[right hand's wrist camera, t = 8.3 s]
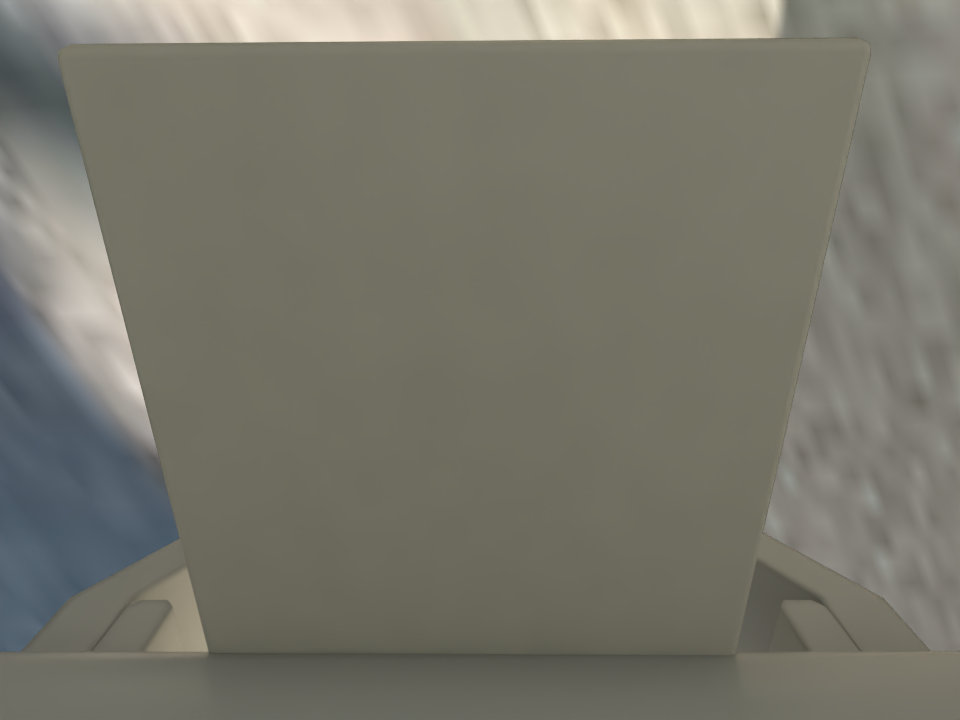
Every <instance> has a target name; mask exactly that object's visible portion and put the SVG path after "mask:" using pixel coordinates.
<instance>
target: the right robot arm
mask: <svg viewBox="0 0 960 720" xmlns="http://www.w3.org/2000/svg"><path fill="white" fill-rule="evenodd" d="M0 720H960V652H931V651H930V650H929V649H928V648H927V646H926V645H925V644H924V643H923V642H922V641H921V640H920V639H919V638H918V636H917V635H916V634H915V633H914V632H913V631H912V630H911V629H910V627H909V626H908V625H907V624H906V623H905V622H904V621H903V620H902V619H901V617H900V616H899V615H898V614H897V613H896V612H895V611H894V610H893V608H892V607H891V606H890V605H889V604H888V603H887V602H886V601H885V600H884V598H882V597H880V596H878V595H876V594H874V593H873V592H871V591H869V590H867V589H865V588H863V587H862V586H860V585H858V584H856V583H854V582H852V581H851V580H849V579H847V578H845V577H843V576H841V575H840V574H838V573H836V572H834V571H832V570H830V569H829V568H827V567H825V566H823V565H821V564H819V563H818V562H816V561H814V560H812V559H810V558H808V557H807V556H805V555H803V554H801V553H799V552H797V551H796V550H794V549H792V548H790V547H788V546H786V545H785V544H783V543H781V542H779V541H777V540H775V539H774V538H772V537H770V536H768V535H766V534H764V533H763V534H762V538H761V543H760V547H759V551H758V556H757V560H756V565H755V569H754V574H753V578H752V582H751V587H750V591H749V596H748V600H747V605H746V609H745V613H744V618H743V622H742V627H741V631H740V636H739V640H738V644H737V649H736V653H735V654H733V655H574V654H306V653H210V652H209V651H208V647H207V643H206V640H205V636H204V632H203V628H202V624H201V620H200V616H199V612H198V608H197V604H196V600H195V596H194V592H193V589H192V585H191V581H190V577H189V573H188V569H187V565H186V561H185V557H184V553H183V549H182V545H181V541H180V539H178V540H176V541H175V542H173V543H171V544H169V545H167V546H165V547H163V548H162V549H160V550H158V551H156V552H154V553H152V554H150V555H149V556H147V557H145V558H143V559H141V560H139V561H137V562H136V563H134V564H132V565H130V566H128V567H126V568H124V569H123V570H121V571H119V572H117V573H115V574H113V575H111V576H110V577H108V578H106V579H104V580H102V581H100V582H98V583H97V584H95V585H93V586H91V587H89V588H87V589H85V590H84V591H82V592H80V593H78V594H76V595H74V596H72V597H71V598H70V599H69V600H68V601H67V602H66V603H65V604H64V605H63V606H62V607H61V608H60V609H59V611H58V612H57V613H56V614H55V615H54V616H53V617H52V618H51V619H50V620H49V621H48V623H47V624H46V625H45V626H44V627H43V628H42V629H41V630H40V631H39V632H38V633H37V635H36V636H35V637H34V638H33V639H32V640H31V641H30V642H29V643H28V644H27V645H26V647H25V648H24V649H23V650H22V651H21V652H0Z"/></svg>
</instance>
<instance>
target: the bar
mask: <svg viewBox="0 0 960 720" xmlns="http://www.w3.org/2000/svg"><path fill="white" fill-rule="evenodd" d="M870 55H871V50H870V43H867V42H865V41H863V40H861V39H858V38H756V39H634V40H511V41H388V42H266V43H143V44H71V45H69V46H66V47H64V48H62V49H60V50H59V51H58V63H59V67H60V71H61V75H62V79H63V83H64V87H65V91H66V94H67V98H68V102H69V106H70V110H71V114H72V118H73V122H74V126H75V130H76V134H77V138H78V141H79V145H80V149H81V153H82V157H83V161H84V165H85V169H86V173H87V177H88V181H89V185H90V189H91V192H92V196H93V200H94V204H95V208H96V212H97V216H98V220H99V224H100V228H101V232H102V236H103V240H104V243H105V247H106V251H107V255H108V259H109V263H110V267H111V271H112V275H113V279H114V283H115V287H116V291H117V294H118V298H119V302H120V306H121V310H122V314H123V318H124V322H125V326H126V330H127V334H128V338H129V341H130V345H131V349H132V353H133V357H134V361H135V365H136V369H137V373H138V377H139V381H140V385H141V389H142V392H143V396H144V400H145V404H146V408H147V412H148V416H149V420H150V424H151V428H152V432H153V436H154V440H155V443H156V447H157V451H158V455H159V459H160V463H161V467H162V471H163V475H164V479H165V483H166V487H167V491H168V494H169V498H170V502H171V506H172V510H173V514H174V518H175V522H176V526H177V530H178V534H179V538H180V541H181V545H182V549H183V553H184V557H185V561H186V565H187V569H188V573H189V577H190V581H191V585H192V589H193V592H194V596H195V600H196V604H197V608H198V612H199V616H200V620H201V624H202V628H203V632H204V636H205V640H206V643H207V647H208V651H209V652H210V653H306V654H574V655H733V654H735V653H736V649H737V644H738V640H739V636H740V631H741V627H742V622H743V618H744V613H745V609H746V605H747V600H748V596H749V591H750V587H751V582H752V578H753V574H754V569H755V565H756V560H757V556H758V551H759V547H760V543H761V538H762V534H763V529H764V525H765V520H766V516H767V512H768V507H769V503H770V498H771V494H772V489H773V485H774V480H775V476H776V472H777V467H778V463H779V458H780V454H781V449H782V445H783V441H784V436H785V432H786V427H787V423H788V418H789V414H790V410H791V405H792V401H793V396H794V392H795V387H796V383H797V379H798V374H799V370H800V365H801V361H802V356H803V352H804V348H805V343H806V339H807V334H808V330H809V325H810V321H811V317H812V312H813V308H814V303H815V299H816V294H817V290H818V286H819V281H820V277H821V272H822V268H823V263H824V259H825V255H826V250H827V246H828V241H829V237H830V232H831V228H832V224H833V219H834V215H835V210H836V206H837V201H838V197H839V193H840V188H841V184H842V179H843V175H844V170H845V166H846V162H847V157H848V153H849V148H850V144H851V139H852V135H853V131H854V126H855V122H856V117H857V113H858V108H859V104H860V100H861V95H862V91H863V86H864V82H865V77H866V73H867V69H868V64H869V60H870Z"/></svg>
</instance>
